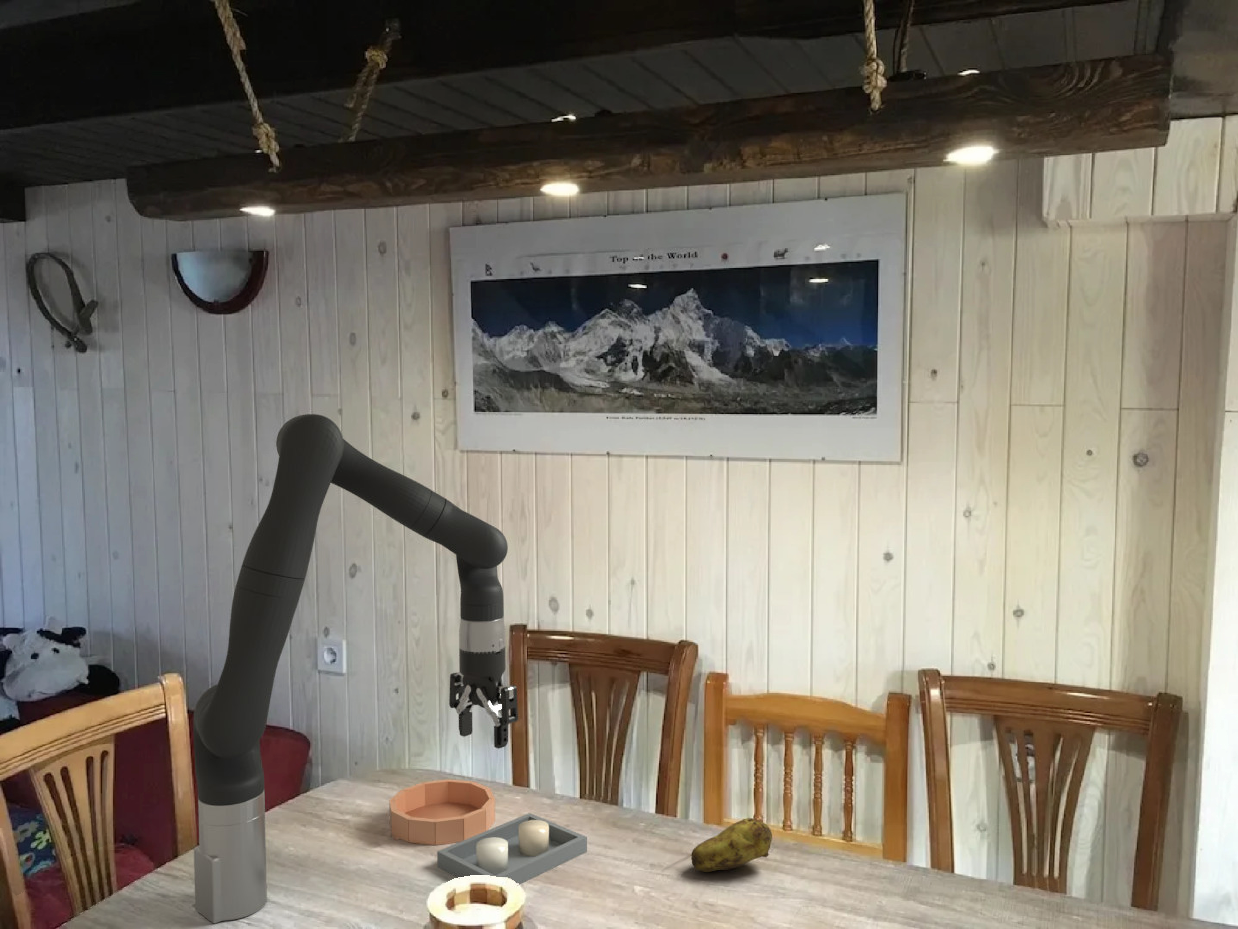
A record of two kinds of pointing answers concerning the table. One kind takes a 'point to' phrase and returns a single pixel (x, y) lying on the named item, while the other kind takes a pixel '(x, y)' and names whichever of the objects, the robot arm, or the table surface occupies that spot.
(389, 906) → the table surface
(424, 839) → the bowl
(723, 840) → the potato
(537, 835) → the pebble
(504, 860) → the pebble
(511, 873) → the tray
